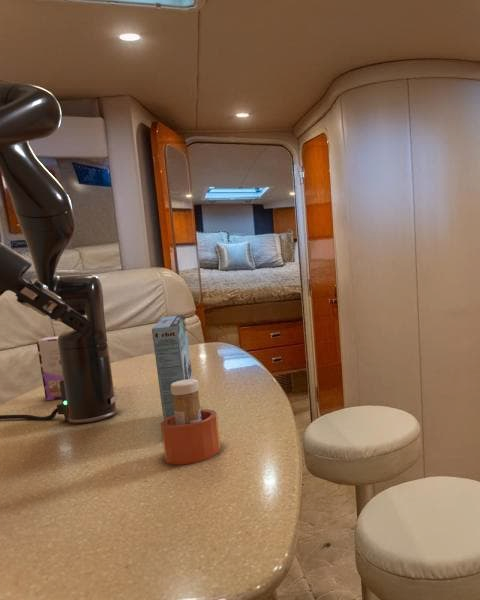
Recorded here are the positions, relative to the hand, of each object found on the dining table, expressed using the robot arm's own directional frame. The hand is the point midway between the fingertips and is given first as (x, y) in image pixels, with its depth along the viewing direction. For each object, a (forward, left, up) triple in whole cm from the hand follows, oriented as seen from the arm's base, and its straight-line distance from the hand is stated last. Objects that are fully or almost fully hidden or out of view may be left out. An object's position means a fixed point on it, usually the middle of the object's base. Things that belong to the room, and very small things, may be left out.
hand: (86, 326), depth 84 cm
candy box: (-48, +48, -26) cm, 73 cm away
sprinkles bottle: (+9, +10, -26) cm, 29 cm away
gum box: (-3, +26, -26) cm, 37 cm away
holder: (+10, +10, -26) cm, 29 cm away
